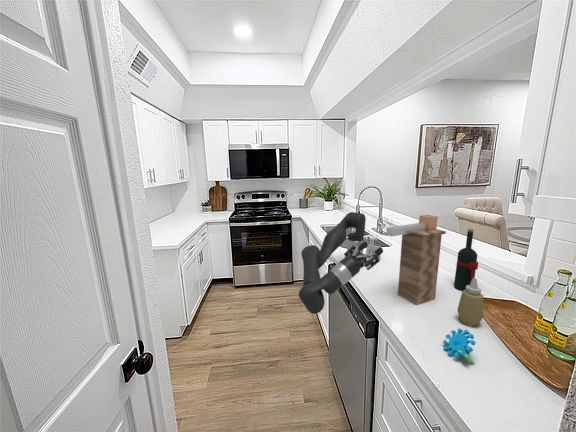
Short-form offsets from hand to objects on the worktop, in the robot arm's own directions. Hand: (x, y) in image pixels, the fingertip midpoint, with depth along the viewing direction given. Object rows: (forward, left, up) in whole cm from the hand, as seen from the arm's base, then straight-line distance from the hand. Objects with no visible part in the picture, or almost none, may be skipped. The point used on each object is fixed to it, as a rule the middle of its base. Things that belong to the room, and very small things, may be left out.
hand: (373, 245), depth 100 cm
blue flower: (+28, -16, -29) cm, 43 cm away
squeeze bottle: (+36, +5, -29) cm, 46 cm away
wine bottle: (+42, +35, -29) cm, 62 cm away
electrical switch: (-2, +65, -29) cm, 71 cm away
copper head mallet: (+14, +14, +3) cm, 20 cm away
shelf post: (+19, +19, -29) cm, 39 cm away
